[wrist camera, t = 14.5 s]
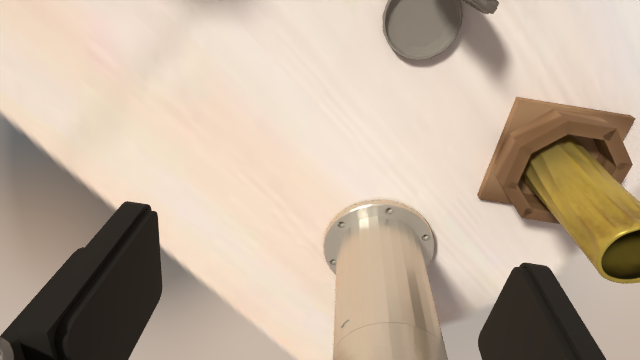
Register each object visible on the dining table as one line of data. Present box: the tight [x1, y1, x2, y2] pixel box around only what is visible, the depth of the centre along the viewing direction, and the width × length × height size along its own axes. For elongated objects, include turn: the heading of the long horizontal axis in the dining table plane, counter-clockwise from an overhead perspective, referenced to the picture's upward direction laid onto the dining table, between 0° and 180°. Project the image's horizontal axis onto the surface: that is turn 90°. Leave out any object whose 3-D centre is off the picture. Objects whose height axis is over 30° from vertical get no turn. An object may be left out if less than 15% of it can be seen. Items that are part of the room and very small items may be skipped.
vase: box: [521, 135, 640, 283], centre depth 35 cm, size 6×6×14 cm
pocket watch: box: [383, 0, 499, 60], centre depth 31 cm, size 8×8×10 cm
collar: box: [477, 97, 635, 224], centre depth 40 cm, size 11×11×4 cm
